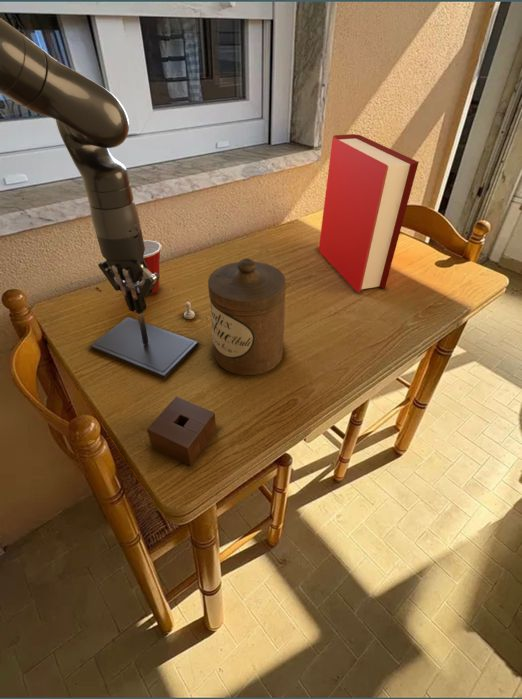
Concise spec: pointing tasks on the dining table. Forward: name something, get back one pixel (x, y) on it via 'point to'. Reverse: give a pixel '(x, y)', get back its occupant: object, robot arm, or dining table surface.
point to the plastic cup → (152, 258)
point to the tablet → (145, 347)
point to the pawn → (189, 311)
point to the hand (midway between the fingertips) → (137, 310)
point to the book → (364, 208)
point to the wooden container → (247, 316)
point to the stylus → (143, 327)
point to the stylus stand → (182, 430)
